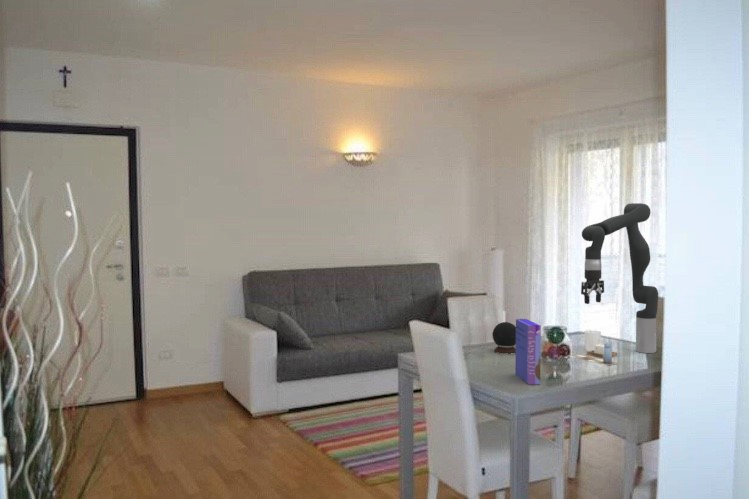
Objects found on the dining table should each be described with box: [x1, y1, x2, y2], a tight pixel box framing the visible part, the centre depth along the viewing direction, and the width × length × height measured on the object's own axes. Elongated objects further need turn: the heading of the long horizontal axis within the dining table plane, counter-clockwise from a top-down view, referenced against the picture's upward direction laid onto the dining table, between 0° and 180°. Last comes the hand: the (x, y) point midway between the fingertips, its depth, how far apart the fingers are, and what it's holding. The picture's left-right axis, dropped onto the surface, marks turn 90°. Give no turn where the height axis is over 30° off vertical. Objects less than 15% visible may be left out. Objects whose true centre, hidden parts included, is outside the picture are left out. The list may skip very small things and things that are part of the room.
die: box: [594, 343, 604, 355], centre depth 303 cm, size 5×5×5 cm
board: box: [569, 354, 617, 367], centre depth 294 cm, size 7×22×1 cm, turn 34°
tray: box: [586, 350, 618, 359], centre depth 303 cm, size 10×10×2 cm
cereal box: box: [514, 318, 542, 386], centre depth 259 cm, size 17×5×24 cm, turn 5°
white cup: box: [583, 329, 602, 352], centre depth 316 cm, size 8×8×10 cm
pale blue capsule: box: [602, 341, 613, 365], centre depth 287 cm, size 4×4×9 cm
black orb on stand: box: [492, 321, 516, 355], centre depth 315 cm, size 13×13×15 cm
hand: (592, 302), depth 295 cm, fingers open, 8 cm apart
